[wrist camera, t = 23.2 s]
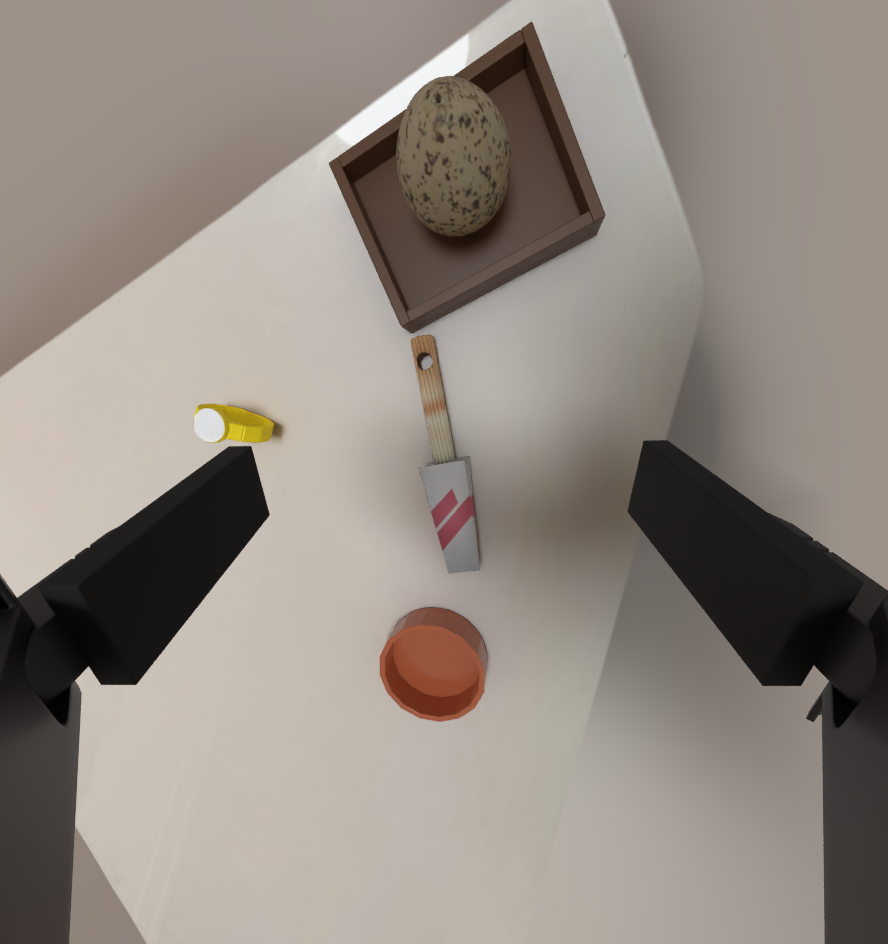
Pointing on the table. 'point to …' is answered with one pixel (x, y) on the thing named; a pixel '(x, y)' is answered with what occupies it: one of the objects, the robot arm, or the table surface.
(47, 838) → the robot arm
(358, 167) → the tray
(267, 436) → the watch
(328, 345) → the table surface
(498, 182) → the decorative egg
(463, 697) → the shallow dish
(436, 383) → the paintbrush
